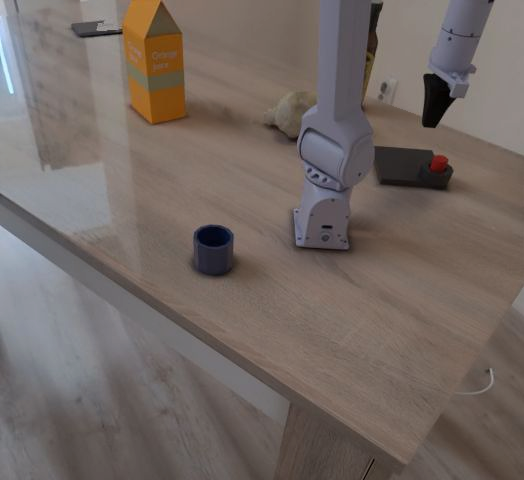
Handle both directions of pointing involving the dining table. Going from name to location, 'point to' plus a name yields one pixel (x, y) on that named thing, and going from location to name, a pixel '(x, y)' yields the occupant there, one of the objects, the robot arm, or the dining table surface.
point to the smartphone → (90, 28)
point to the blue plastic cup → (213, 249)
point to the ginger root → (291, 111)
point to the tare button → (439, 163)
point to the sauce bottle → (371, 43)
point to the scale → (409, 168)
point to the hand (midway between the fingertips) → (428, 126)
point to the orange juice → (154, 61)
